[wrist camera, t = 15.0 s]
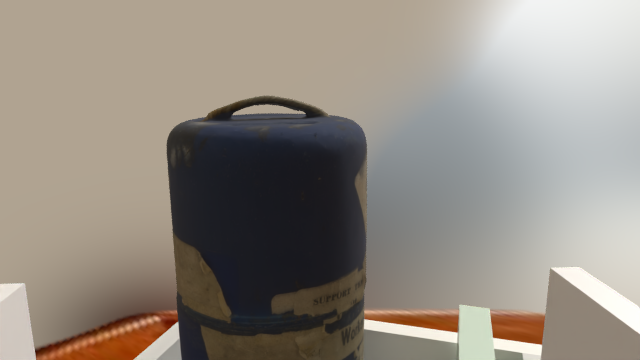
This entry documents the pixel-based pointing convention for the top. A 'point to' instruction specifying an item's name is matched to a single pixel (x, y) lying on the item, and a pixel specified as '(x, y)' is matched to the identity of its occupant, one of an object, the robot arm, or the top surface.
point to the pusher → (474, 334)
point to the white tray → (380, 345)
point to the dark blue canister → (269, 233)
